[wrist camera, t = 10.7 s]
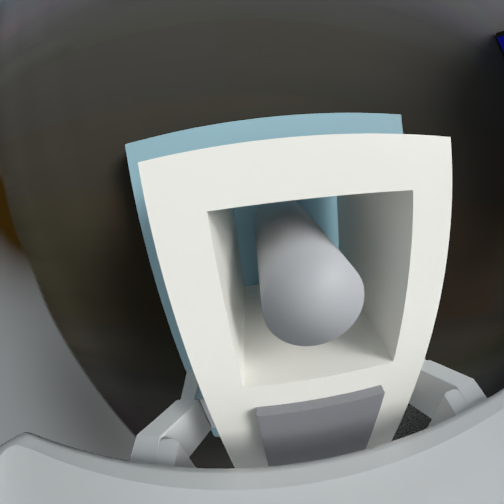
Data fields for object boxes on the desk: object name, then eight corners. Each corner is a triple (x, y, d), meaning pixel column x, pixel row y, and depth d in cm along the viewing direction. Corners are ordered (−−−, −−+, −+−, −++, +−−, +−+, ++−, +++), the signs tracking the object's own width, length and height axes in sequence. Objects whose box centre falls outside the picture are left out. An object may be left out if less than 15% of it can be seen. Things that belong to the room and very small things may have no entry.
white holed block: (194, 154, 9) (130, 163, 4) (358, 137, 9) (460, 137, 4) (254, 440, 14) (256, 513, 9) (344, 427, 14) (363, 496, 9)
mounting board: (387, 116, 10) (511, 107, 4) (368, 401, 17) (399, 482, 10) (136, 144, 11) (16, 154, 4) (215, 423, 17) (208, 512, 10)
